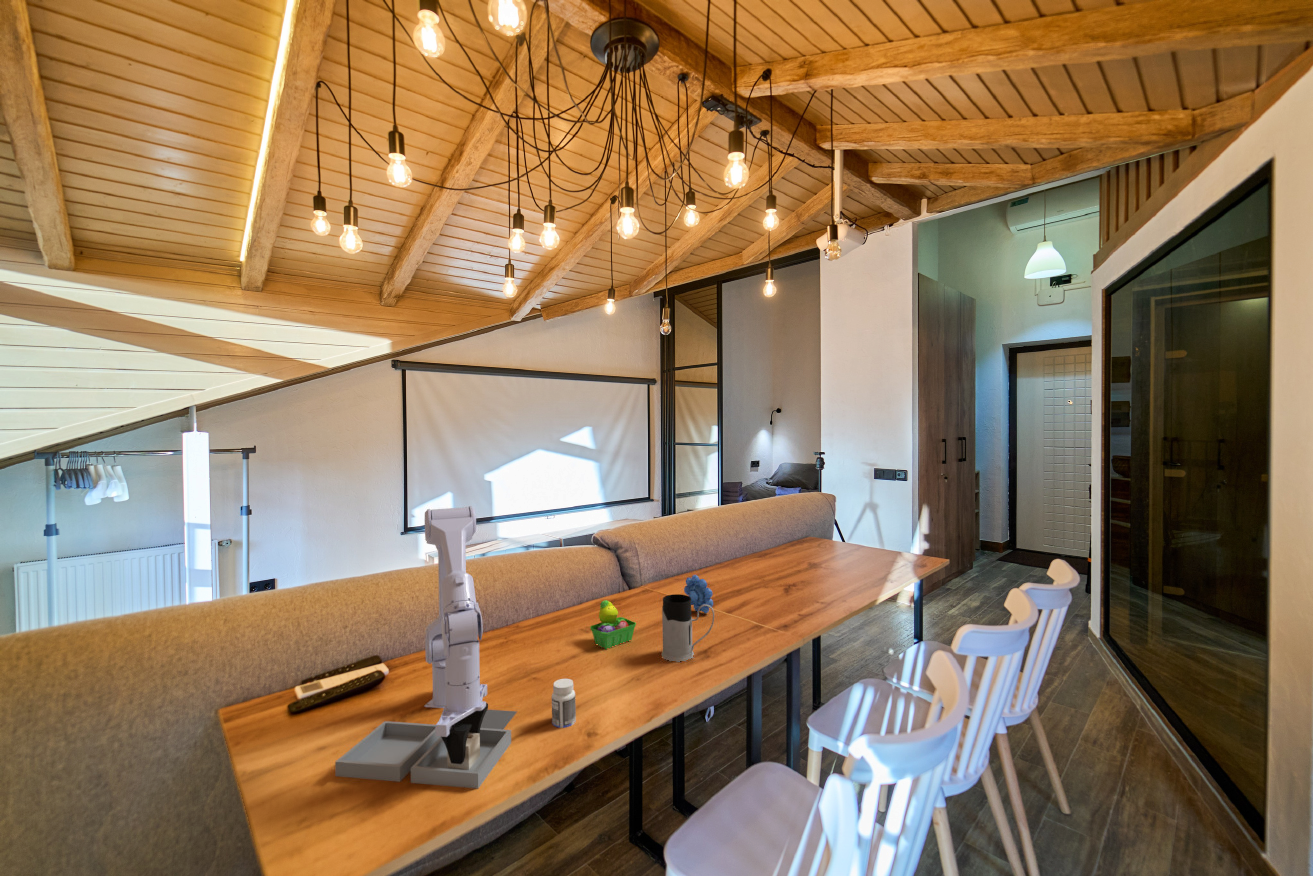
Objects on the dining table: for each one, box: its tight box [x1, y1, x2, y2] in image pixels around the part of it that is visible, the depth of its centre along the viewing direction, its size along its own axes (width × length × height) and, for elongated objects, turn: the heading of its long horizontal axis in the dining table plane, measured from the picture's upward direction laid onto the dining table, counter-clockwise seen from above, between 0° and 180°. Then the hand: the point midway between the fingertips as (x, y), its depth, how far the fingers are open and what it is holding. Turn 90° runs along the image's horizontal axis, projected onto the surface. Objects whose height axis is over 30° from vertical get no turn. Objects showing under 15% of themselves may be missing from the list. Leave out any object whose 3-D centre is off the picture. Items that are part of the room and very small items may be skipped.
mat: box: [481, 708, 518, 730], centre depth 107 cm, size 10×10×1 cm
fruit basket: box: [589, 599, 637, 650], centre depth 150 cm, size 11×9×11 cm
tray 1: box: [334, 720, 440, 782], centre depth 96 cm, size 13×12×3 cm
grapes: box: [683, 574, 714, 614], centre depth 173 cm, size 12×7×12 cm, turn 48°
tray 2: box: [410, 728, 512, 790], centre depth 94 cm, size 13×12×3 cm
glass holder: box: [660, 593, 715, 663], centre depth 140 cm, size 9×14×15 cm, turn 78°
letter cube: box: [447, 733, 480, 769], centre depth 94 cm, size 4×4×4 cm
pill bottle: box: [551, 678, 577, 729], centre depth 107 cm, size 5×5×8 cm
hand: (463, 754), depth 94 cm, fingers closed on letter cube, 4 cm apart
